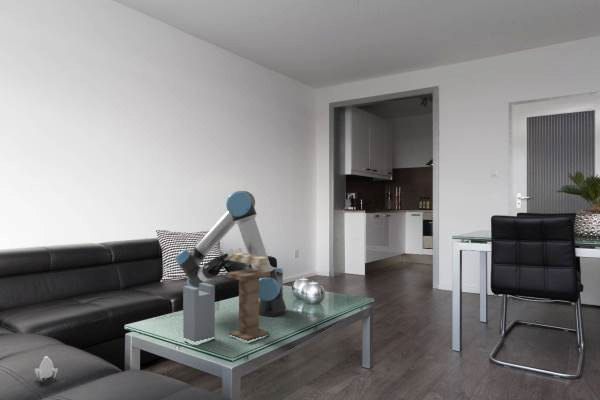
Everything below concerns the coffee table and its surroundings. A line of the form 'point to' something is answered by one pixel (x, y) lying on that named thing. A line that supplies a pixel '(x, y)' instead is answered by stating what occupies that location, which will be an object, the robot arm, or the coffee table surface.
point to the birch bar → (248, 259)
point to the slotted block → (199, 312)
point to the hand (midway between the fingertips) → (236, 251)
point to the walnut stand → (248, 303)
